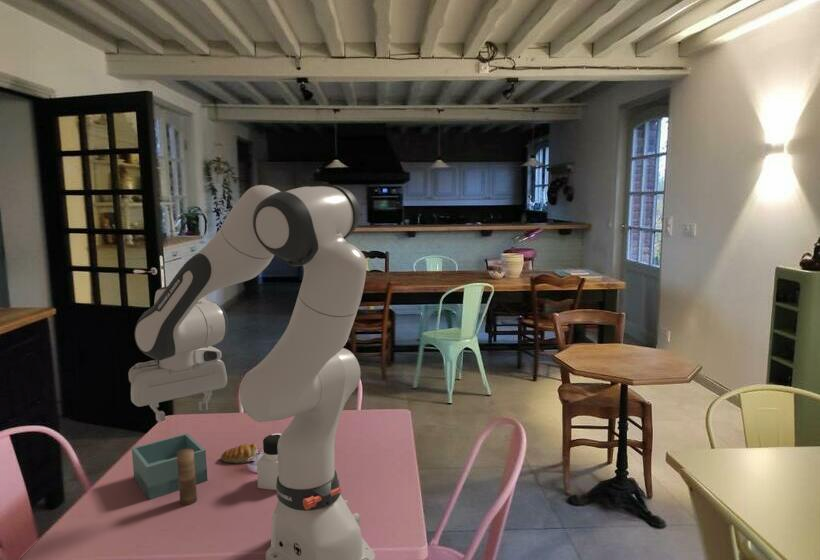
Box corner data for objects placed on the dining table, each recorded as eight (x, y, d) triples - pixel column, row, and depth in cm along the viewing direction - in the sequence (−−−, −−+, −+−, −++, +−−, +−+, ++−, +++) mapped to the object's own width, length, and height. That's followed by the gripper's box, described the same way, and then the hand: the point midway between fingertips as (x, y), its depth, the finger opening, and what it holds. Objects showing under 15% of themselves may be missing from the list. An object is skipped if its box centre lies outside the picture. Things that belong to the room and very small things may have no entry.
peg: (199, 501, 125) (195, 452, 123) (183, 507, 123) (179, 457, 121) (193, 495, 128) (190, 447, 126) (178, 500, 125) (174, 451, 124)
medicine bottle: (284, 491, 129) (282, 444, 127) (257, 488, 130) (255, 441, 129) (297, 477, 136) (295, 431, 134) (270, 474, 137) (268, 429, 136)
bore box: (207, 480, 135) (205, 450, 134) (149, 499, 126) (146, 467, 125) (189, 461, 145) (187, 433, 144) (134, 478, 136) (131, 447, 135)
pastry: (220, 466, 142) (219, 453, 142) (222, 455, 149) (221, 442, 148) (257, 462, 144) (256, 448, 144) (258, 451, 151) (257, 438, 150)
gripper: (131, 368, 111) (136, 431, 113) (228, 350, 125) (231, 407, 127) (124, 361, 116) (129, 422, 118) (217, 345, 129) (220, 400, 131)
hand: (182, 414), depth 122 cm, fingers open, 8 cm apart
